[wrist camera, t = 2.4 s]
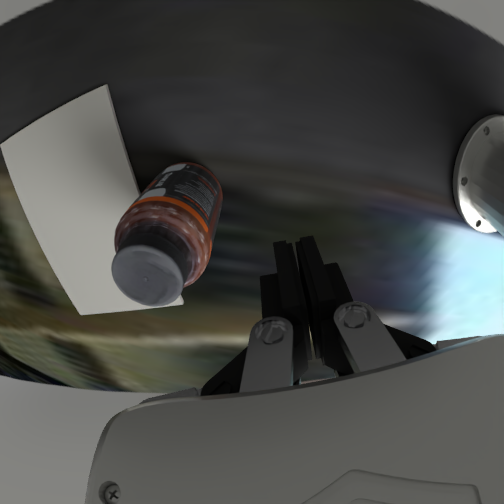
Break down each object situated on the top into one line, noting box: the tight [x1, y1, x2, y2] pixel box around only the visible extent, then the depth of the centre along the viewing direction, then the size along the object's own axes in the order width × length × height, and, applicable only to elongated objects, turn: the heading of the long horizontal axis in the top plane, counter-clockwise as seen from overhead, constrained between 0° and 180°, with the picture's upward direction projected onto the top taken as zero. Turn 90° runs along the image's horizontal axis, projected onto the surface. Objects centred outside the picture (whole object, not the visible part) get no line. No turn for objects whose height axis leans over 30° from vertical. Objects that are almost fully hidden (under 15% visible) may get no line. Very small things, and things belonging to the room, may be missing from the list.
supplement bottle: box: [111, 162, 223, 307], centre depth 19 cm, size 6×6×11 cm
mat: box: [0, 84, 184, 315], centre depth 25 cm, size 14×22×1 cm, turn 11°
